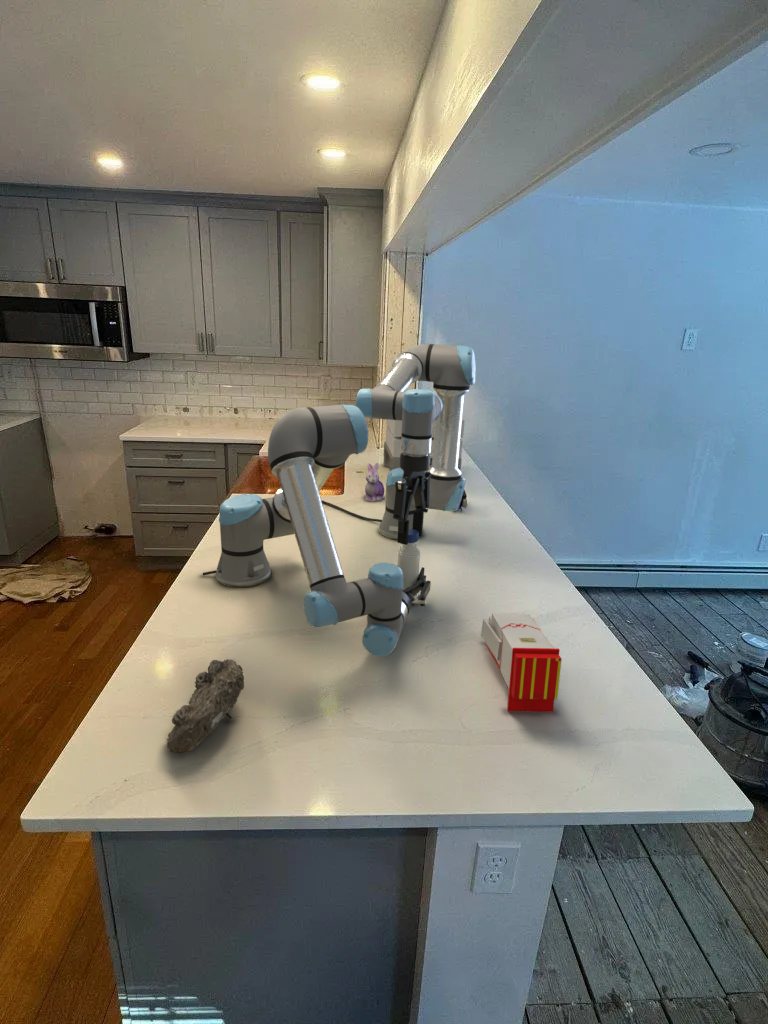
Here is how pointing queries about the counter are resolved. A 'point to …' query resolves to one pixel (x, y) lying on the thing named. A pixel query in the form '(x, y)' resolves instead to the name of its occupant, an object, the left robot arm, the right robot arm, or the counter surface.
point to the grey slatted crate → (394, 444)
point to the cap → (413, 536)
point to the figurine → (373, 485)
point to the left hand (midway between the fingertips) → (411, 570)
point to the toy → (523, 661)
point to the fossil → (206, 705)
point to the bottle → (409, 564)
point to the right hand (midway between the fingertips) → (409, 538)
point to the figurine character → (463, 501)
